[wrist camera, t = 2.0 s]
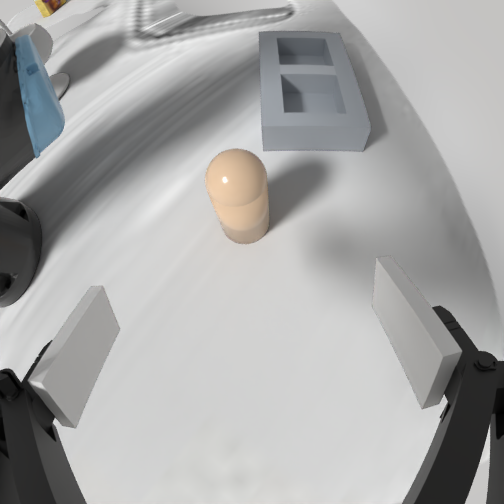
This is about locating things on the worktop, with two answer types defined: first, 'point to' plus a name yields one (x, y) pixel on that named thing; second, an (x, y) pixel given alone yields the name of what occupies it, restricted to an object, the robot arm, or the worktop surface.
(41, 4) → the candy box
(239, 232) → the peach dome-topped cylinder
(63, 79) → the chalice
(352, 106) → the divided tray
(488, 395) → the robot arm
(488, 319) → the worktop surface
